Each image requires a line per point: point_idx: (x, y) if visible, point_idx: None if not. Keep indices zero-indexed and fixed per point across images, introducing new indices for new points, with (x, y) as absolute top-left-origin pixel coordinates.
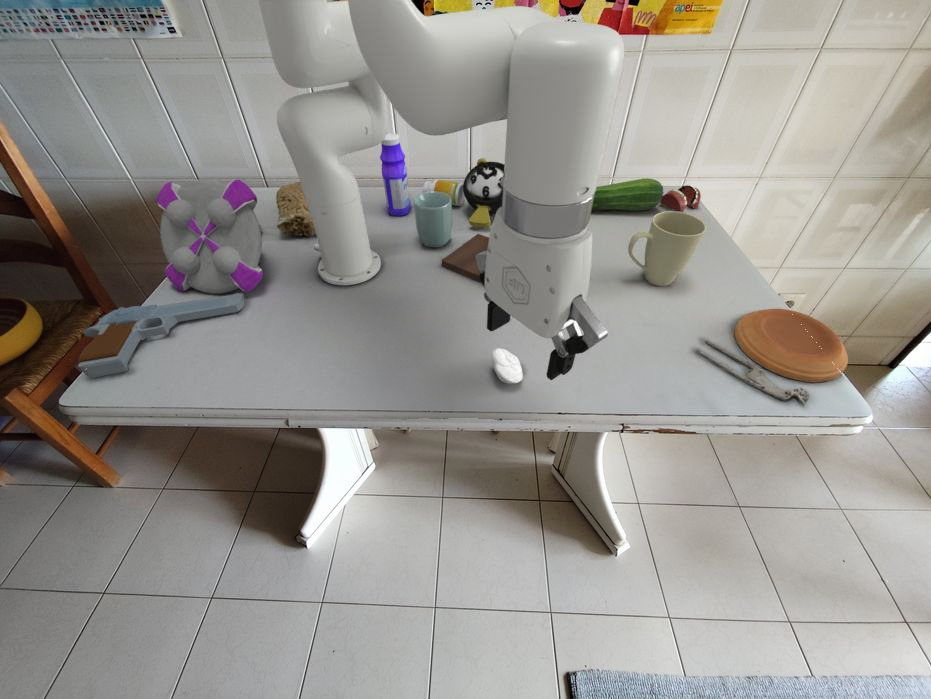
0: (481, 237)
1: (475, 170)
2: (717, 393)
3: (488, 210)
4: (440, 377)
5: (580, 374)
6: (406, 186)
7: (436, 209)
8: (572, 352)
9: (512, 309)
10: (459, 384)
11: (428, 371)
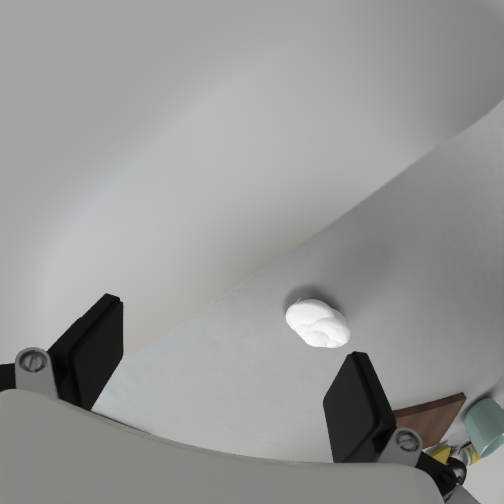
0: (432, 443)
1: (458, 485)
2: (106, 398)
3: None
4: (398, 250)
5: (225, 367)
6: None
7: (492, 439)
8: (10, 367)
9: (226, 499)
10: (367, 257)
11: (418, 248)
